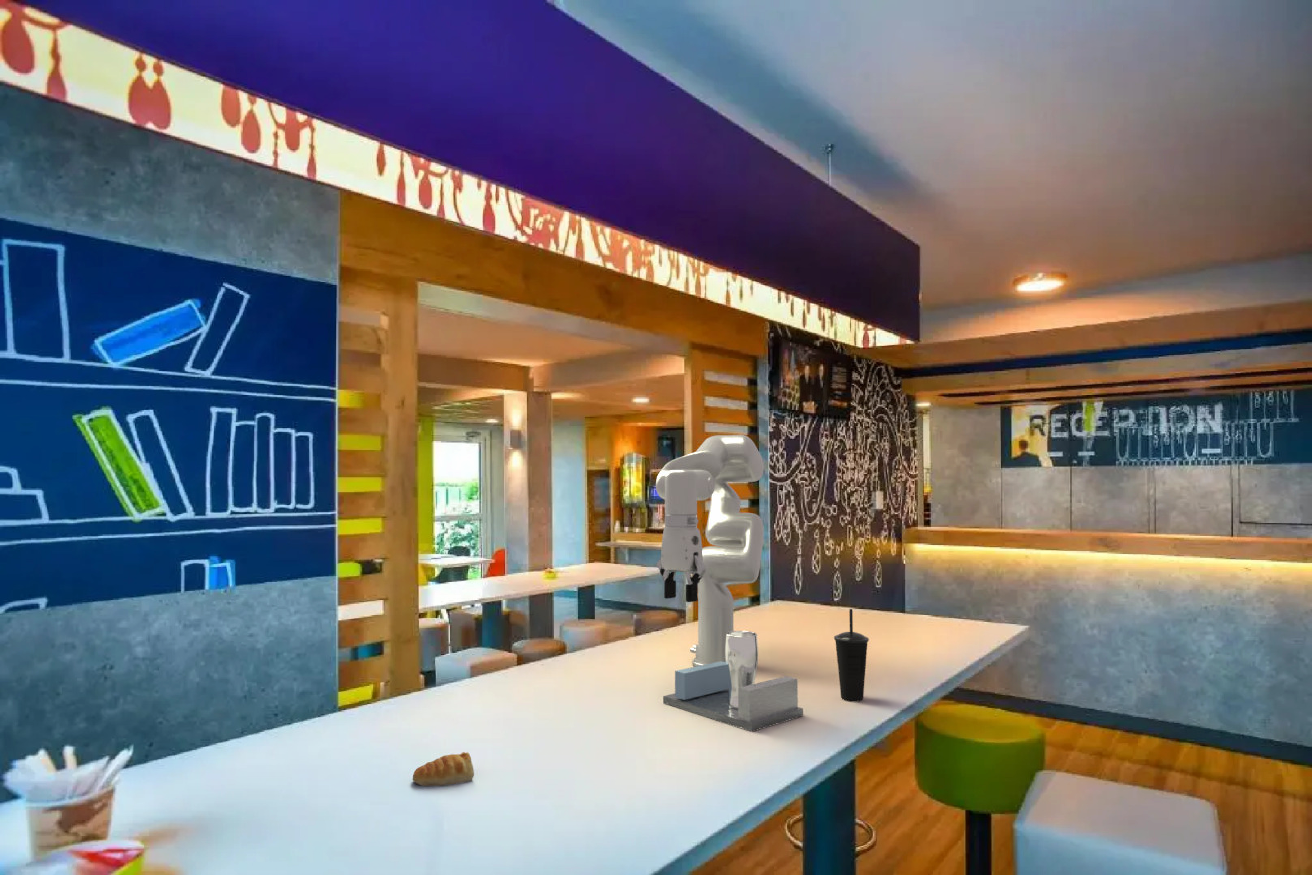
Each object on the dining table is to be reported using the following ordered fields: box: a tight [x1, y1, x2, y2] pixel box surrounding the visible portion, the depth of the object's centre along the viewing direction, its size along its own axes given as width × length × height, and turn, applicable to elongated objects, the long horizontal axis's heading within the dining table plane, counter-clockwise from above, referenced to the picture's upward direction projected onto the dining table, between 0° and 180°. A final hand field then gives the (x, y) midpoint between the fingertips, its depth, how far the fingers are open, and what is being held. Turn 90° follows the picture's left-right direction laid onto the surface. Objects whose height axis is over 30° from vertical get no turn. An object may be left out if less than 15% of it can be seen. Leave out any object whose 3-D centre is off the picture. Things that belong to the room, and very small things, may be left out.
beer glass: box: [725, 630, 759, 709], centre depth 161 cm, size 7×7×15 cm
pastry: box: [412, 751, 475, 787], centre depth 124 cm, size 9×7×4 cm
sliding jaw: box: [674, 661, 729, 700], centre depth 170 cm, size 3×14×6 cm, turn 131°
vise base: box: [662, 675, 804, 732], centre depth 164 cm, size 26×16×8 cm, turn 41°
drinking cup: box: [833, 608, 870, 702], centre depth 173 cm, size 8×8×20 cm
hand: (680, 599), depth 177 cm, fingers open, 6 cm apart
